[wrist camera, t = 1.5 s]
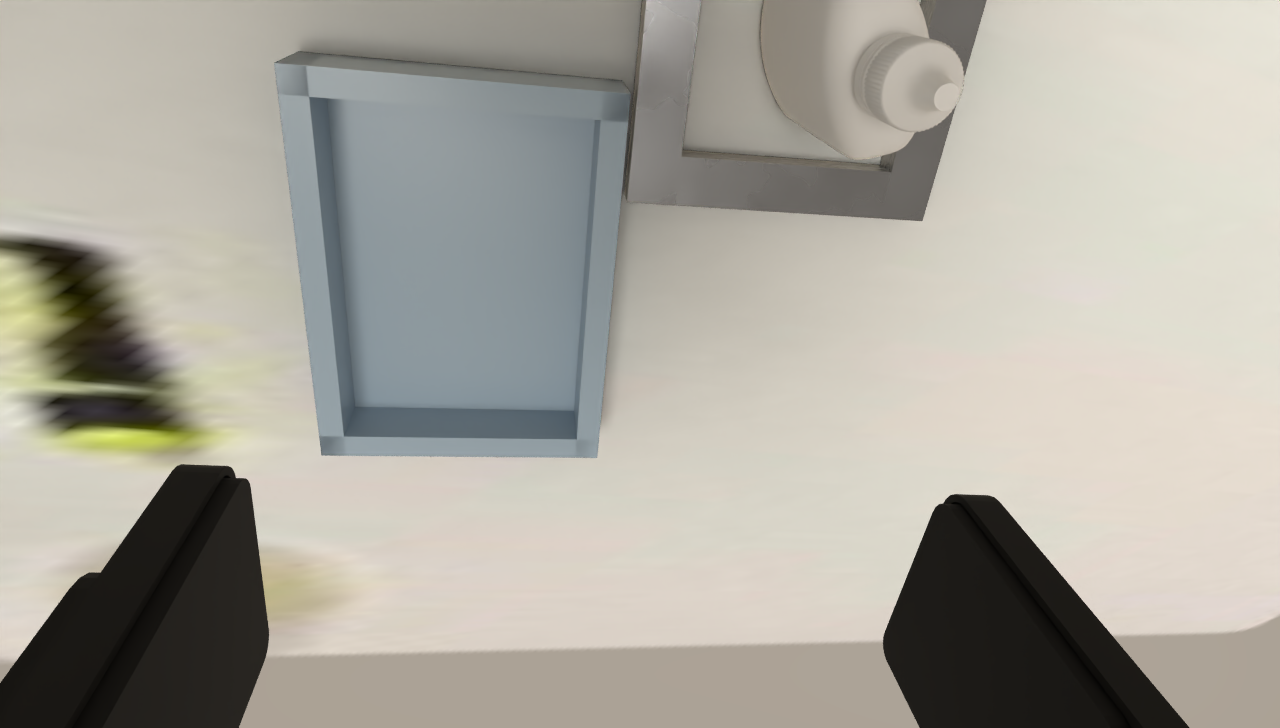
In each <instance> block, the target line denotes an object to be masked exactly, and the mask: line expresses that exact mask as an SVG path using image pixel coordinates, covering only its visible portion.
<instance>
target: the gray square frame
mask: <svg viewBox="0 0 1280 728" xmlns="http://www.w3.org/2000/svg"><path fill="white" fill-rule="evenodd" d="M985 4H986V0H922V1H921V5H920V6H921V9H922V12H923V15H924V18H925V22H926V26H927V29H928V34H929V39H933V40H937V41H941V42H942V43H946V45H949V46H950V47H951V48H953V50H954V51H956V54H958V58H960V62H962V66H963V71H964V74H963V75H964V76H965V73H966V69H967V66H968V62H969V59H970V55H971V52H972V48H973V45H974V42H975V38H976V35H977V31H978V28H979V24H980V21H981V17H982V14H983V11H984V7H985ZM700 7H701V0H642V7H641V18H640V29H639V39H638V50H637V61H636V71H635V82H634V93H633V103H632V114H631V125H630V135H629V146H628V156H627V167H626V178H625V188H624V195H625V198H626V201H627V202H631V203H646V204H662V205H678V206H693V207H709V208H725V209H741V210H756V211H772V212H788V213H804V214H819V215H835V216H851V217H867V218H882V219H898V220H914V221H922V220H923V217H924V213H925V210H926V207H927V203H928V200H929V196H930V193H931V189H932V186H933V183H934V179H935V176H936V172H937V169H938V165H939V162H940V158H941V155H942V152H943V148H944V145H945V141H946V138H947V134H948V131H949V128H950V124H951V121H952V117H953V114H954V110H955V108H954V109H953V110H952V112H951V113H949V115H948V116H947V117H946V118H945V120H942V122H941V123H938V125H937V126H936V125H935V126H934V127H933V128H930V129H929V130H927V129H926V130H925V131H921V132H918V131H917V132H916V133H914V135H913V137H912V139H911V140H910V141H909V142H908V144H907V145H906V146H905V147H904V148H902V149H900V150H899V151H896V152H893V153H890V154H887V155H883V156H882V159H881V163H880V165H875V164H862V163H849V162H835V161H822V160H809V159H796V158H783V157H769V156H756V155H743V154H730V153H717V152H703V151H690V150H682V148H683V140H684V132H685V124H686V116H687V109H688V101H689V93H690V85H691V77H692V69H693V62H694V54H695V46H696V38H697V30H698V22H699V15H700ZM955 107H956V106H955Z"/></svg>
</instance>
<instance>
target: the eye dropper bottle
mask: <svg viewBox="0 0 1280 728" xmlns="http://www.w3.org/2000/svg"><path fill="white" fill-rule="evenodd" d="M761 51H762V59H763V64H764V69H765V73H766V76H767V80H768V83H769V86H770V88H771V90H772V93H773V95H774V97H775V99H776V101H777V103H778V105H779V107H780V108H781V110H782V111H783V113H784V114H785V115H786V116H787V117H788V118H790V119H791V120H792V121H794V122H795V123H797V124H798V125H799V126H801V127H802V128H804V129H805V130H807V131H808V132H810V133H811V134H813V135H814V136H816V137H817V138H818V139H820V140H821V141H823V142H824V143H826V144H827V145H829V146H830V147H832V148H833V149H835V150H836V151H838V152H840V153H841V154H843V155H845V156H846V157H848V158H851V159H857V160H864V159H870V158H875V157H879V156H883V155H887V154H890V153H893V152H896V151H899V150H900V149H902V148H904V147H905V146H906V145H907V144H908V142H909V141H910V140H911V139H912V137H913V135H914V133H916V132H917V131H918V132H921V131H925V130H926V129H927V130H929V129H930V128H933V127H934V126H935V125H936V126H937V125H938V123H941V122H942V120H945V118H946V117H947V116H948V115H949V113H951V112H952V110H953V109H954V108H955V106H956V105H957V103H958V101H959V98H960V96H961V92H962V90H963V89H962V88H963V86H964V85H963V83H964V75H963V74H964V71H963V66H962V62H960V58H958V54H956V51H954V50H953V48H951V47H950V46H949V45H946V43H942V42H941V41H937V40H933V39H929V34H928V29H927V26H926V22H925V18H924V15H923V12H922V9H921V6H920V4H919V2H918V0H764V5H763V11H762V19H761Z"/></svg>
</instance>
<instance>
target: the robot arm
mask: <svg viewBox="0 0 1280 728" xmlns="http://www.w3.org/2000/svg"><path fill="white" fill-rule="evenodd" d="M268 641H269V628H268V620H267V612H266V605H265V597H264V589H263V581H262V573H261V565H260V557H259V549H258V541H257V534H256V526H255V518H254V510H253V502H252V494H251V487H250V483H249V481H248V480H247V479H244V478H236V477H235V473H234V471H233V469H232V468H231V467H229V466H210V465H184V464H181V465H179V466H177V467H176V468H175V469H174V470H173V471H172V472H171V474H170V475H169V476H168V478H167V479H166V481H165V482H164V483H163V485H162V486H161V488H160V489H159V491H158V492H157V493H156V495H155V496H154V498H153V499H152V500H151V502H150V503H149V505H148V506H147V508H146V509H145V510H144V512H143V513H142V515H141V516H140V517H139V519H138V520H137V522H136V523H135V525H134V526H133V527H132V529H131V530H130V532H129V533H128V534H127V536H126V537H125V539H124V540H123V542H122V543H121V544H120V546H119V547H118V549H117V550H116V552H115V553H114V554H113V556H112V557H111V559H110V560H109V561H108V563H107V564H106V566H105V567H104V569H103V570H102V571H101V573H88V574H86V575H84V576H82V577H80V578H79V579H78V580H77V581H76V582H75V583H74V585H73V586H72V587H71V588H70V589H69V590H68V592H67V593H66V594H65V596H64V597H63V598H62V600H61V601H60V603H59V604H58V605H57V607H56V608H55V609H54V611H53V612H52V613H51V615H50V616H49V617H48V619H47V620H46V622H45V623H44V624H43V626H42V627H41V628H40V630H39V631H38V632H37V634H36V635H35V636H34V638H33V639H32V641H31V642H30V643H29V645H28V646H27V647H26V649H25V650H24V651H23V653H22V654H21V655H20V657H19V658H18V660H17V661H16V662H15V664H14V665H13V666H12V668H11V669H10V671H9V672H8V673H7V675H6V676H5V677H4V679H3V680H2V681H1V683H0V728H239V725H240V723H241V720H242V718H243V715H244V712H245V710H246V707H247V704H248V702H249V700H250V697H251V694H252V692H253V689H254V687H255V684H256V681H257V679H258V676H259V674H260V671H261V668H262V666H263V663H264V660H265V657H266V653H267V648H268ZM883 649H884V654H885V657H886V660H887V662H888V664H889V666H890V668H891V670H892V672H893V674H894V677H895V679H896V680H897V682H898V685H899V687H900V689H901V691H902V693H903V695H904V697H905V699H906V701H907V703H908V705H909V707H910V709H911V711H912V713H913V715H914V717H915V719H916V721H917V723H918V725H919V727H920V728H1189V727H1188V725H1187V724H1186V723H1185V722H1184V721H1183V719H1182V718H1181V717H1180V716H1179V715H1178V713H1177V712H1176V711H1175V710H1174V709H1173V708H1172V706H1171V705H1170V704H1169V703H1168V702H1167V701H1166V699H1165V698H1164V697H1163V696H1162V694H1161V693H1160V692H1159V691H1158V690H1157V689H1156V687H1155V686H1154V685H1153V684H1152V683H1151V681H1150V680H1149V679H1148V678H1147V677H1146V675H1145V674H1144V673H1143V672H1142V671H1141V670H1140V668H1139V667H1138V666H1137V665H1136V664H1135V662H1134V661H1133V660H1132V659H1131V658H1130V656H1129V655H1128V654H1127V653H1126V652H1125V651H1124V650H1123V648H1122V647H1121V646H1120V644H1119V643H1118V642H1117V641H1116V640H1115V639H1114V637H1113V636H1112V635H1111V634H1110V633H1109V631H1108V630H1107V629H1106V628H1105V627H1104V625H1103V624H1102V623H1101V622H1100V621H1099V620H1098V618H1097V617H1096V616H1095V615H1094V614H1093V612H1092V611H1091V610H1090V609H1089V608H1088V606H1087V605H1086V604H1085V603H1084V602H1083V600H1082V599H1081V598H1080V597H1079V596H1078V595H1077V593H1076V592H1075V591H1074V590H1073V589H1072V587H1071V586H1070V585H1069V584H1068V583H1067V581H1066V580H1065V579H1064V578H1063V577H1062V576H1061V574H1060V573H1059V572H1058V571H1057V570H1056V568H1055V567H1054V566H1053V565H1052V564H1051V562H1050V561H1049V560H1048V559H1047V558H1046V556H1045V555H1044V554H1043V553H1042V552H1041V551H1040V549H1039V548H1038V547H1037V546H1036V545H1035V543H1034V542H1033V541H1032V540H1031V539H1030V537H1029V536H1028V535H1027V534H1026V533H1025V531H1024V530H1023V529H1022V528H1021V527H1020V526H1019V524H1018V523H1017V522H1016V521H1015V520H1014V518H1013V517H1012V516H1011V515H1010V514H1009V512H1008V511H1007V510H1006V509H1005V508H1004V507H1003V505H1002V504H1001V503H1000V502H999V501H998V500H997V499H996V498H995V497H992V496H988V495H962V494H955V495H950V496H949V497H948V498H947V499H946V500H945V502H944V503H943V504H939V505H938V506H937V507H935V509H934V511H933V513H932V516H931V518H930V521H929V523H928V526H927V528H926V531H925V533H924V536H923V538H922V541H921V543H920V546H919V548H918V551H917V553H916V556H915V558H914V561H913V563H912V566H911V568H910V570H909V573H908V575H907V578H906V580H905V583H904V585H903V588H902V590H901V593H900V595H899V598H898V600H897V603H896V605H895V608H894V610H893V613H892V615H891V618H890V620H889V623H888V625H887V628H886V630H885V633H884V637H883Z"/></svg>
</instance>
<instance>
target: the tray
mask: <svg viewBox="0 0 1280 728" xmlns="http://www.w3.org/2000/svg"><path fill="white" fill-rule="evenodd" d="M274 66H275V74H276V82H277V90H278V99H279V107H280V115H281V124H282V132H283V140H284V148H285V157H286V165H287V173H288V181H289V190H290V198H291V206H292V215H293V223H294V231H295V239H296V248H297V256H298V264H299V273H300V281H301V289H302V297H303V306H304V314H305V322H306V331H307V339H308V347H309V355H310V364H311V372H312V380H313V388H314V397H315V405H316V413H317V422H318V430H319V438H320V446H321V455H334V456H448V457H562V458H597V454H598V443H599V432H600V422H601V411H602V400H603V389H604V378H605V367H606V357H607V346H608V335H609V324H610V313H611V302H612V292H613V281H614V270H615V259H616V248H617V238H618V227H619V216H620V205H621V194H622V183H623V173H624V162H625V151H626V140H627V129H628V118H629V108H630V97H631V93H630V92H629V90H628V89H627V87H626V86H625V84H624V83H623V81H622V80H611V79H600V78H589V77H578V76H566V75H555V74H544V73H533V72H522V71H511V70H499V69H488V68H477V67H466V66H455V65H444V64H432V63H421V62H410V61H399V60H388V59H377V58H365V57H354V56H343V55H332V54H321V53H310V52H296V53H294V54H292V55H290V56H288V57H286V58H283V59H281V60H279V61H277V62H275V63H274Z"/></svg>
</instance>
